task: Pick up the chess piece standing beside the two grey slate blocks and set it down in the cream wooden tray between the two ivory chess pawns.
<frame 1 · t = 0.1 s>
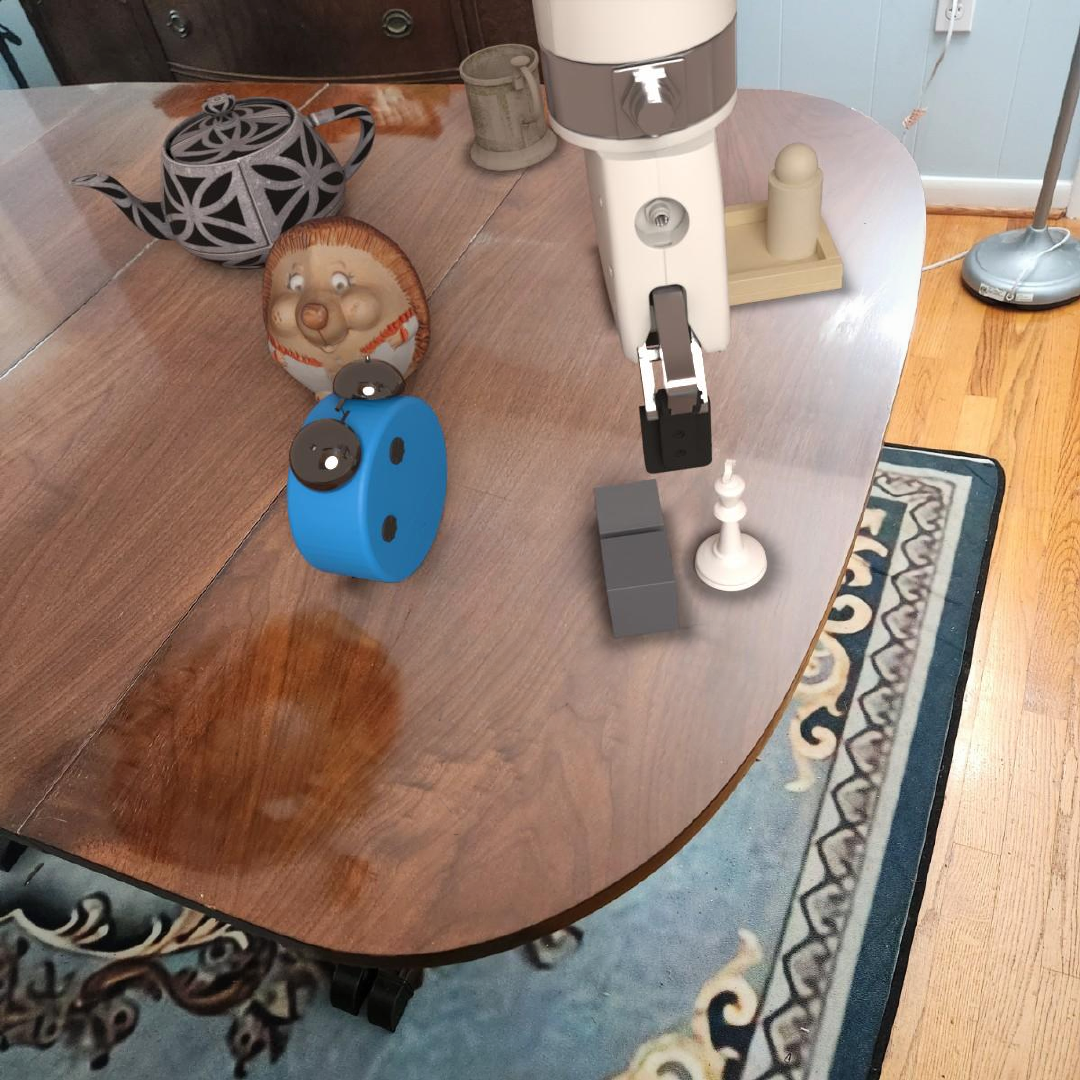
hand: (664, 400, 52), 20 cm above the table, tool pointing down, fingers open, 9 cm apart
chess piece: (730, 565, 70), on the table
mug: (522, 157, 112), on the table
slate blocks: (637, 576, 71), on the table
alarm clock: (398, 549, 76), on the table
pawn tray: (716, 268, 93), on the table
figurine: (363, 379, 90), on the table
teapot: (262, 238, 109), on the table
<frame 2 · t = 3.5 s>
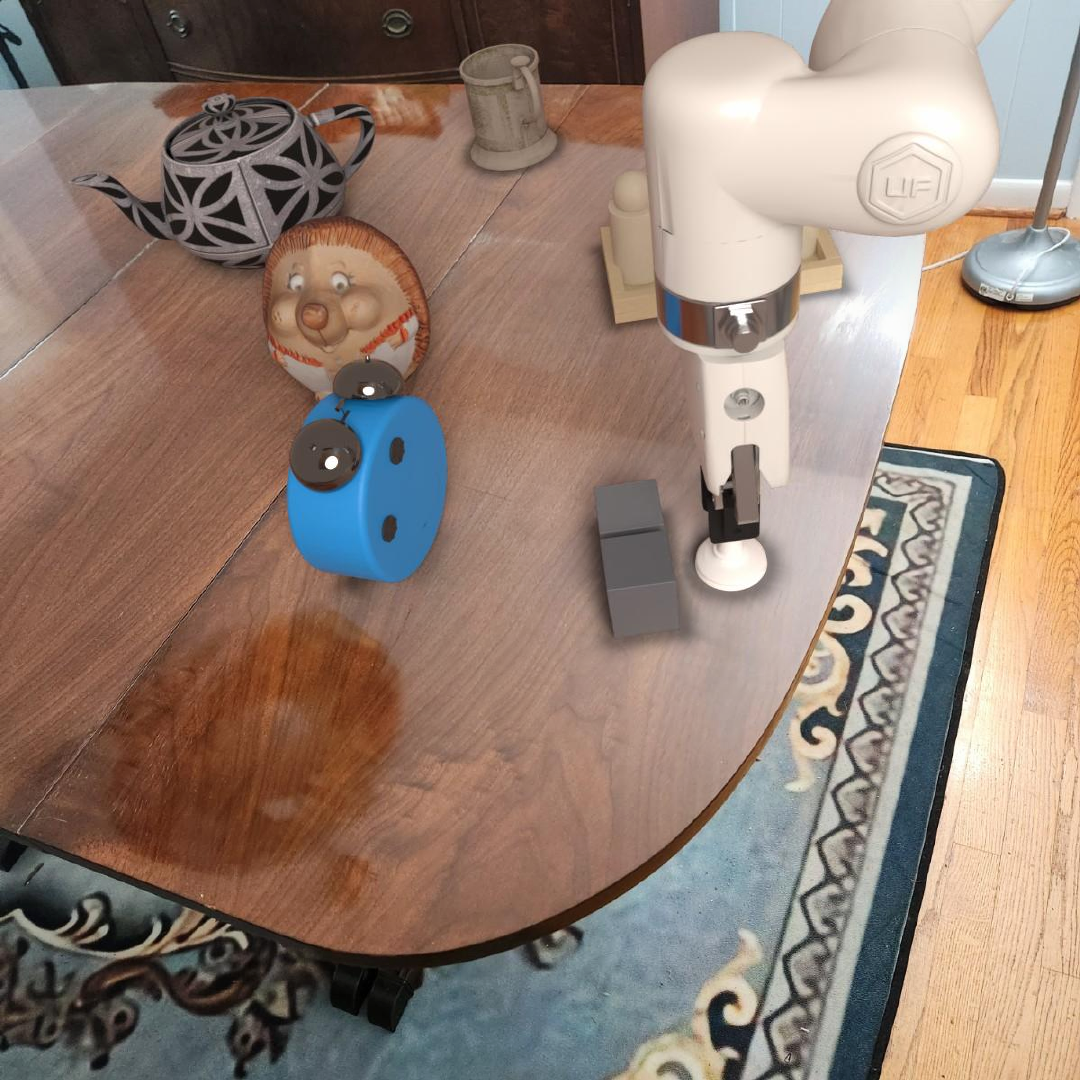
hand: (730, 520, 67), 5 cm above the table, tool pointing down, fingers closed on chess piece
chess piece: (730, 565, 70), on the table, touching gripper
everything else where it was.
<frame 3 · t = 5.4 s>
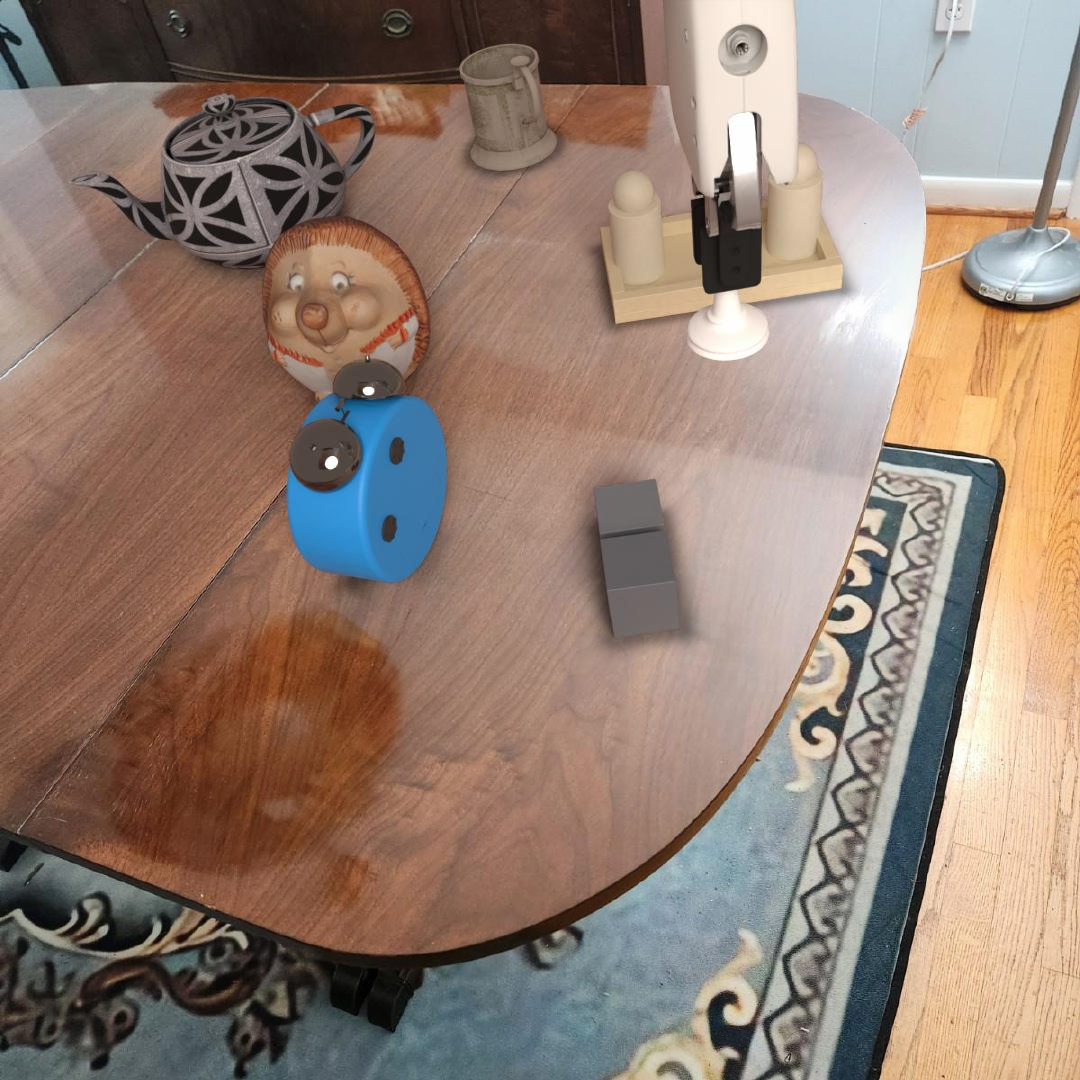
hand: (726, 270, 57), 21 cm above the table, tool pointing down, fingers closed on chess piece
chess piece: (727, 337, 61), point 16 cm above the table, touching gripper
everything else where it was.
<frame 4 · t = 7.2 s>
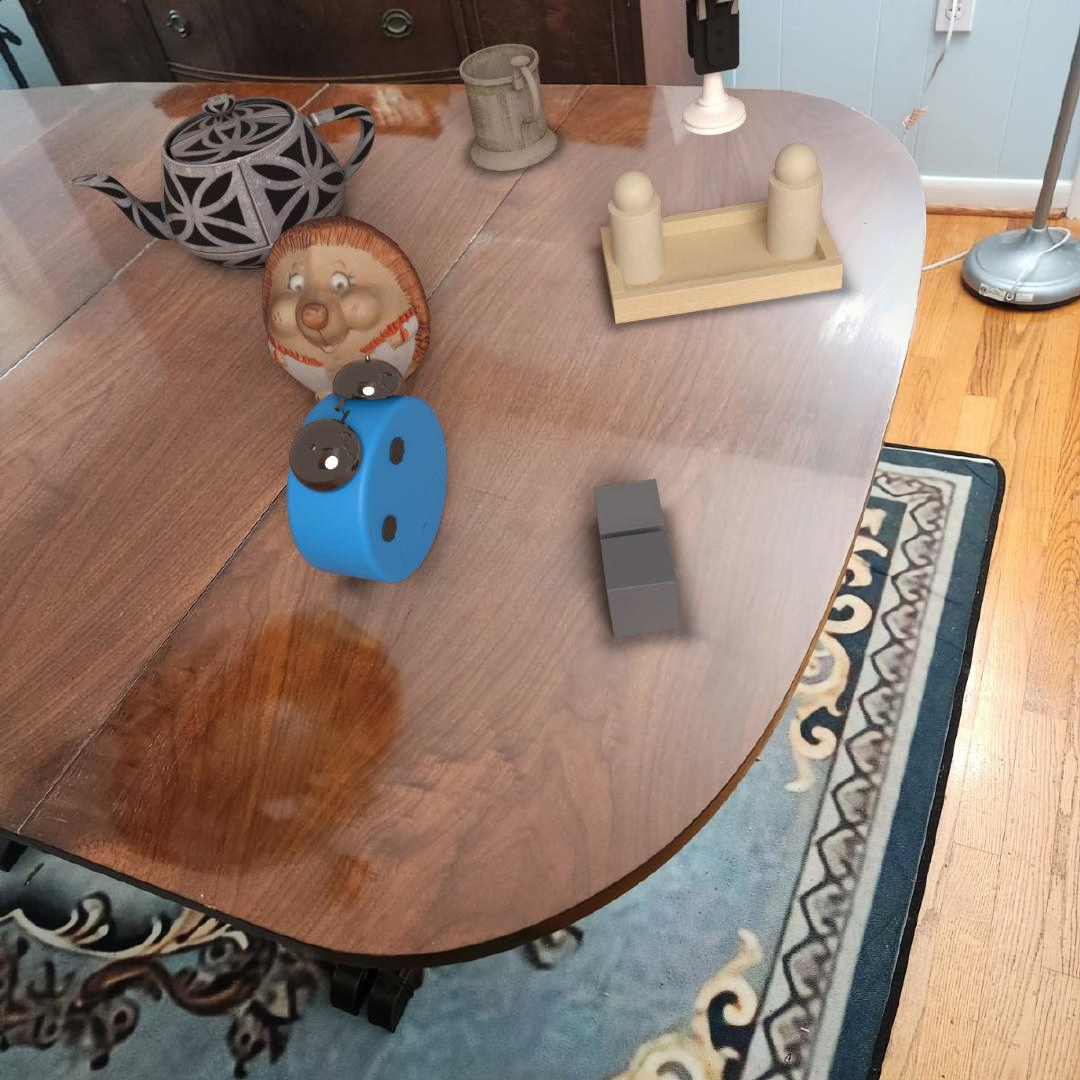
hand: (713, 60, 74), 21 cm above the table, tool pointing down, fingers closed on chess piece
chess piece: (713, 121, 78), point 16 cm above the table, touching gripper
everything else where it was.
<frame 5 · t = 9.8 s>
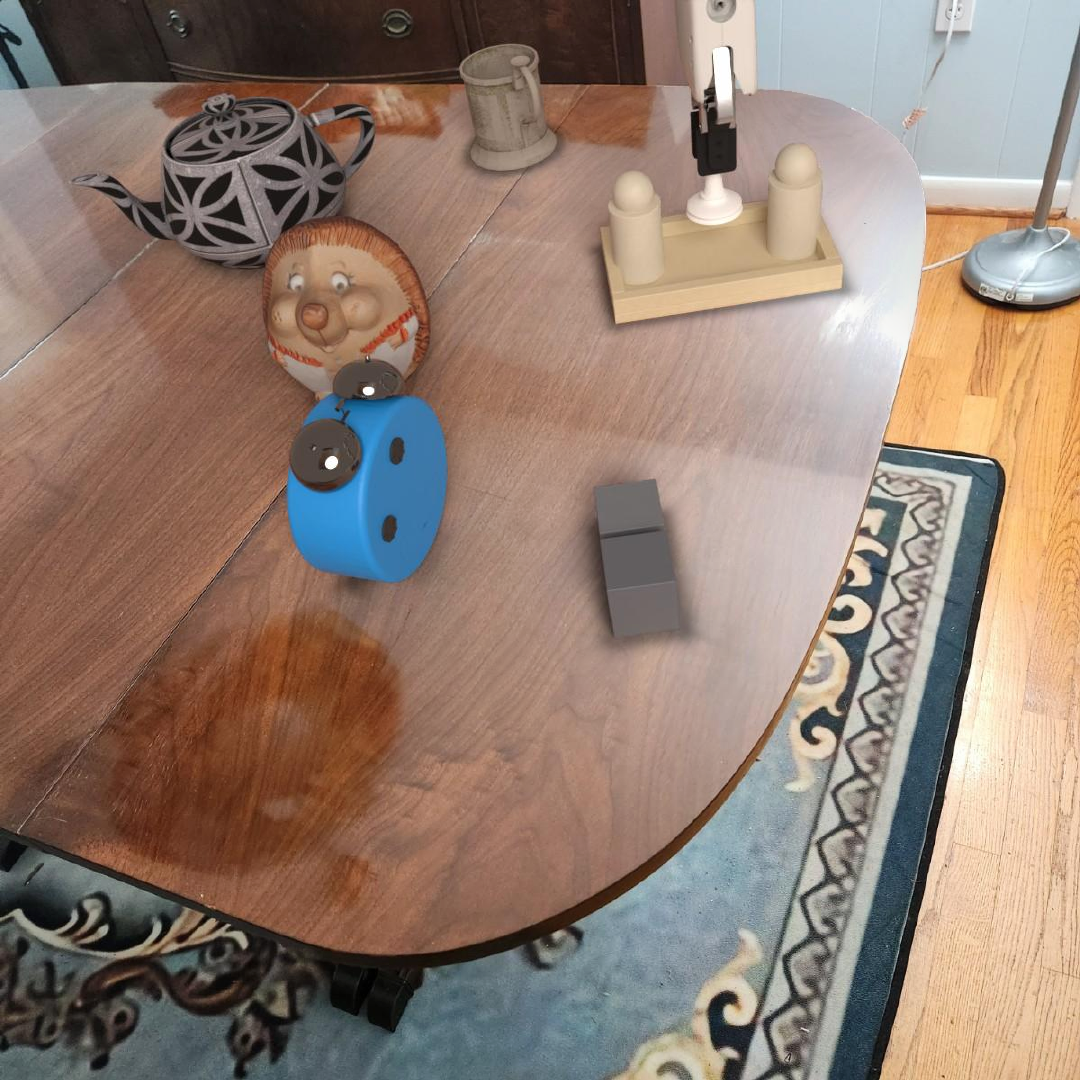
hand: (714, 162, 85), 11 cm above the table, tool pointing down, fingers closed on chess piece
chess piece: (714, 212, 89), point 6 cm above the table, touching gripper
everything else where it was.
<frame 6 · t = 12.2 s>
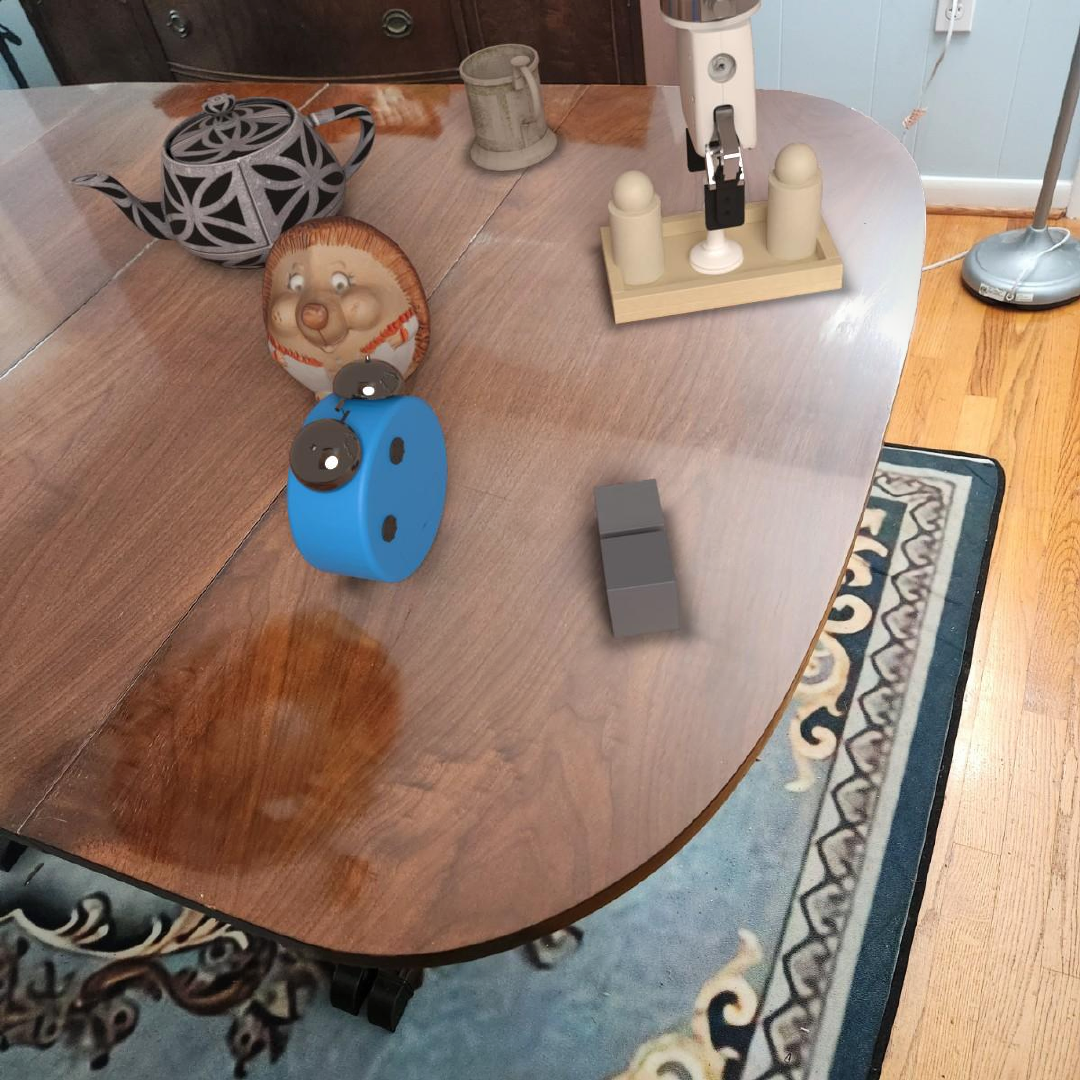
hand: (714, 196, 88), 7 cm above the table, tool pointing down, fingers open, 9 cm apart
chess piece: (716, 261, 92), point 1 cm above the table, touching pawn tray
everything else where it was.
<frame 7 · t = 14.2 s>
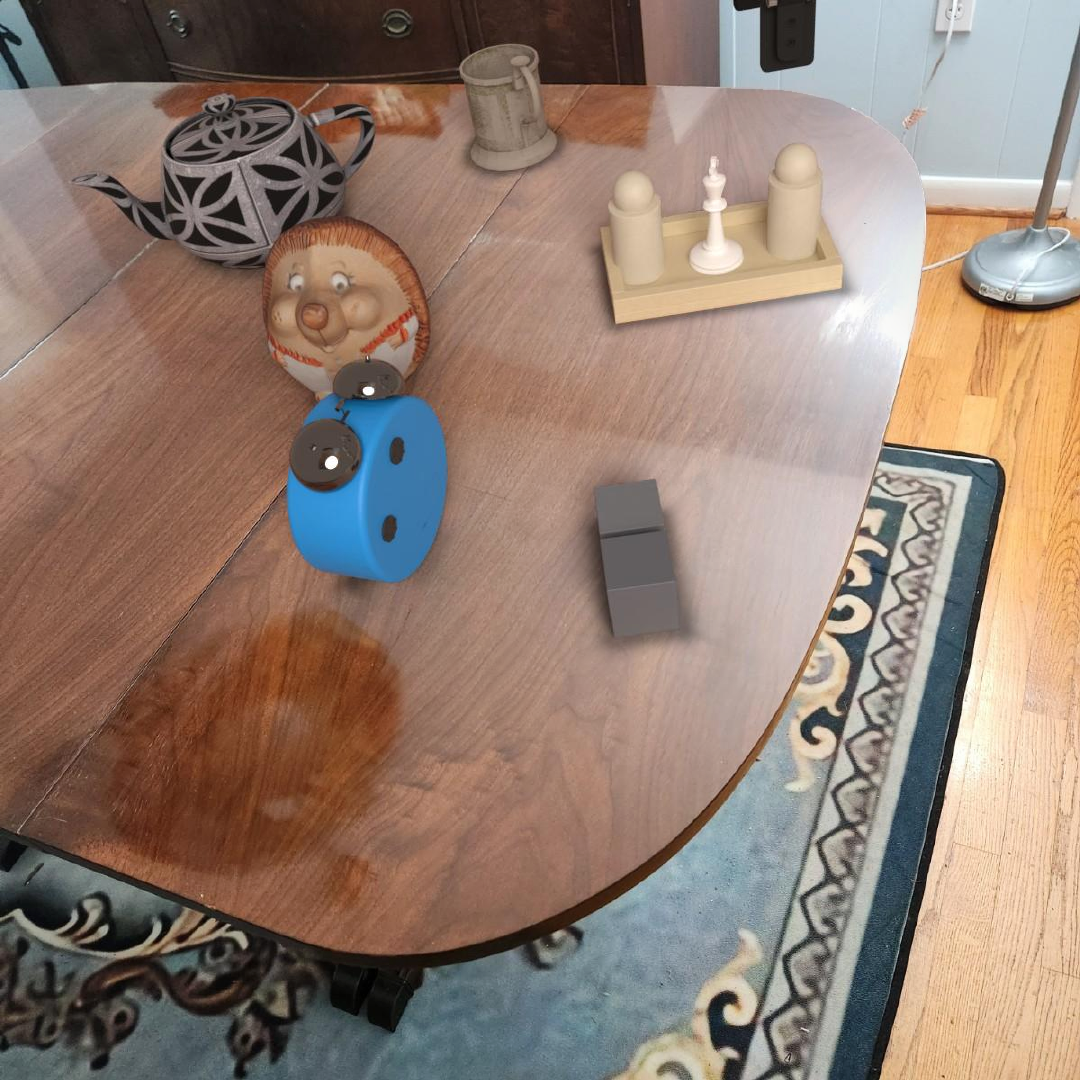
hand: (771, 35, 65), 26 cm above the table, tool pointing down, fingers open, 9 cm apart
nothing on the table moved.
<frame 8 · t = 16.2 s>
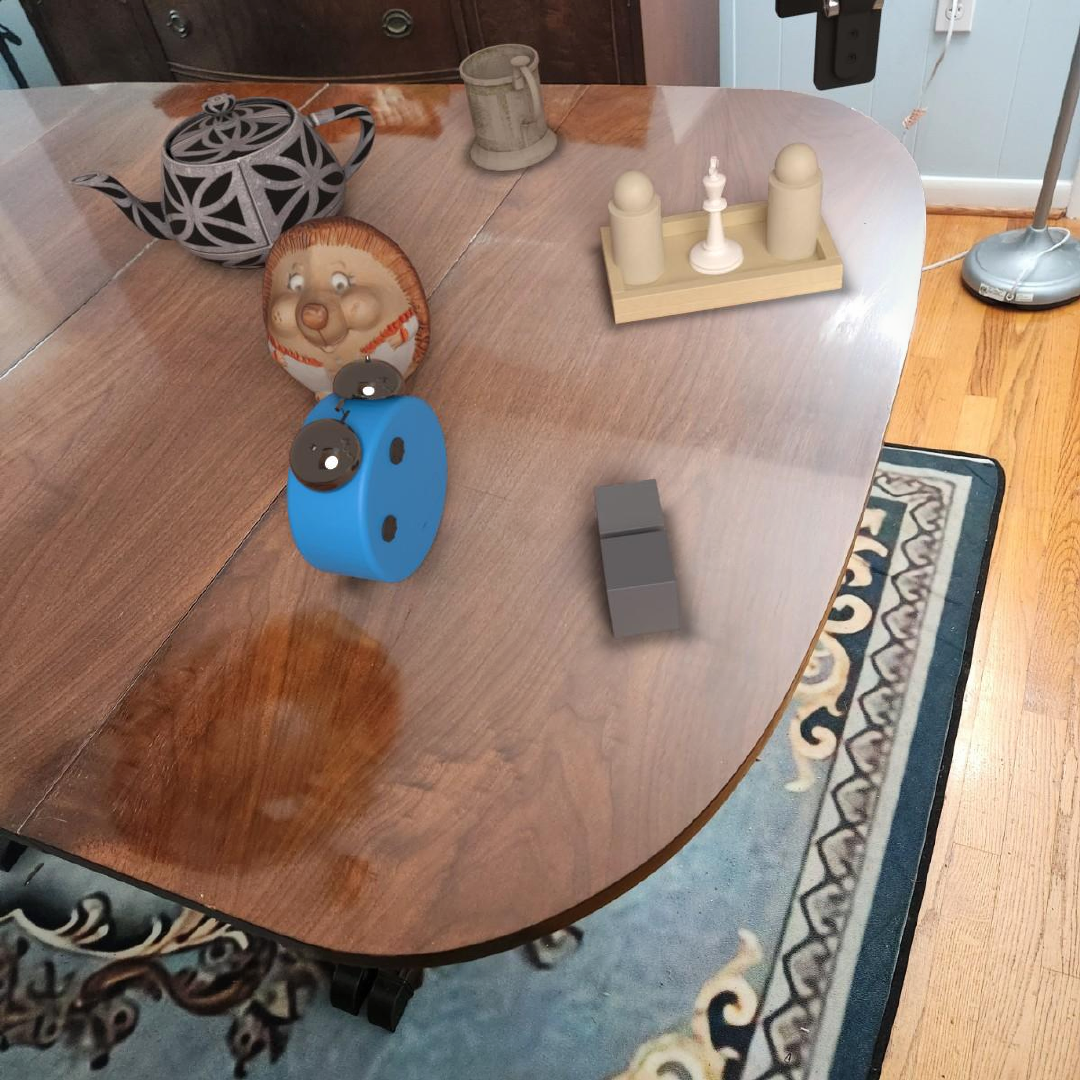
hand: (821, 46, 58), 28 cm above the table, tool pointing down, fingers open, 9 cm apart
nothing on the table moved.
at the end: chess piece 0.1 cm off-centre on the pawn tray, point 0.8 cm above the pawn tray's base; chess piece tilted 0° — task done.
